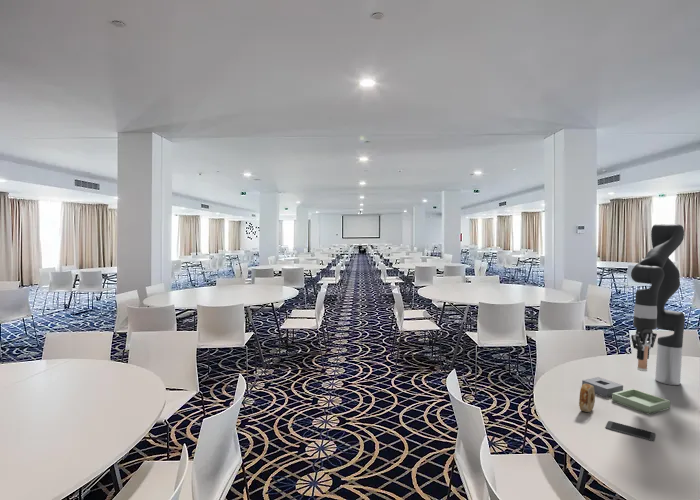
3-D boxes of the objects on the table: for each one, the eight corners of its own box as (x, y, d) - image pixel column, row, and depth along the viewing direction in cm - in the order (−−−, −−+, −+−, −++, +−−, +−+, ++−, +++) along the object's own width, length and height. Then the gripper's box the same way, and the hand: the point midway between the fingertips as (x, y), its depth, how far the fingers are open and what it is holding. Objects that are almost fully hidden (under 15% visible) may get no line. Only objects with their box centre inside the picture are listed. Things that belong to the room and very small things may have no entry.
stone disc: (587, 416, 155) (589, 389, 154) (576, 412, 158) (578, 386, 157) (596, 408, 162) (597, 383, 162) (585, 405, 165) (587, 380, 164)
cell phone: (608, 422, 151) (608, 420, 151) (655, 434, 142) (655, 432, 142) (604, 429, 145) (604, 427, 145) (654, 443, 137) (654, 440, 137)
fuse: (640, 368, 169) (641, 341, 168) (648, 370, 166) (650, 343, 165) (635, 369, 167) (637, 342, 167) (644, 371, 164) (645, 344, 164)
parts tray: (632, 395, 176) (632, 388, 176) (669, 408, 164) (670, 400, 164) (611, 400, 170) (612, 393, 170) (649, 414, 158) (649, 406, 158)
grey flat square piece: (597, 384, 188) (598, 376, 188) (622, 393, 178) (623, 385, 178) (581, 388, 183) (582, 380, 183) (606, 397, 174) (607, 389, 173)
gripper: (645, 313, 172) (642, 354, 173) (624, 315, 166) (622, 358, 166) (665, 316, 165) (663, 359, 166) (645, 319, 159) (642, 363, 160)
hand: (642, 358), depth 166 cm, fingers closed on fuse, 3 cm apart
